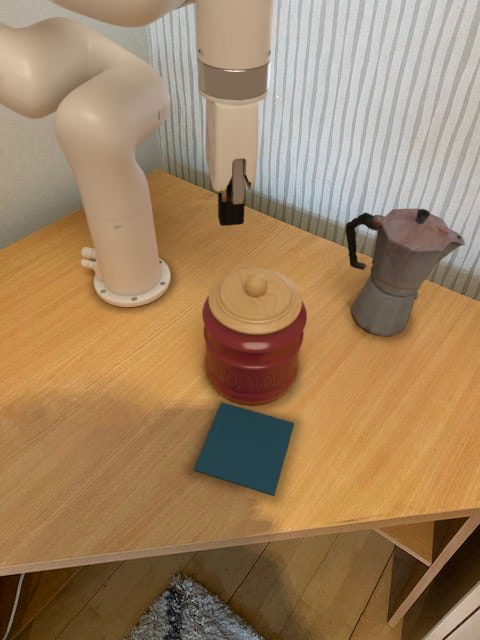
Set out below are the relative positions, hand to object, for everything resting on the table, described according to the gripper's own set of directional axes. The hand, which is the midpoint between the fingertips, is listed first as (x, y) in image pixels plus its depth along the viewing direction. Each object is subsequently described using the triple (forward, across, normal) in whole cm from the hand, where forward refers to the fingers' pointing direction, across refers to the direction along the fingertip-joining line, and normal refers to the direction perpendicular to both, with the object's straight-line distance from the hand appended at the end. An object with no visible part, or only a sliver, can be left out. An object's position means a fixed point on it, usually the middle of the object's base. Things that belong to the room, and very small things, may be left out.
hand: (230, 221), depth 63 cm
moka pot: (+17, +5, +23) cm, 29 cm away
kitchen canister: (+17, +12, +1) cm, 21 cm away
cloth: (+17, +24, -1) cm, 29 cm away
